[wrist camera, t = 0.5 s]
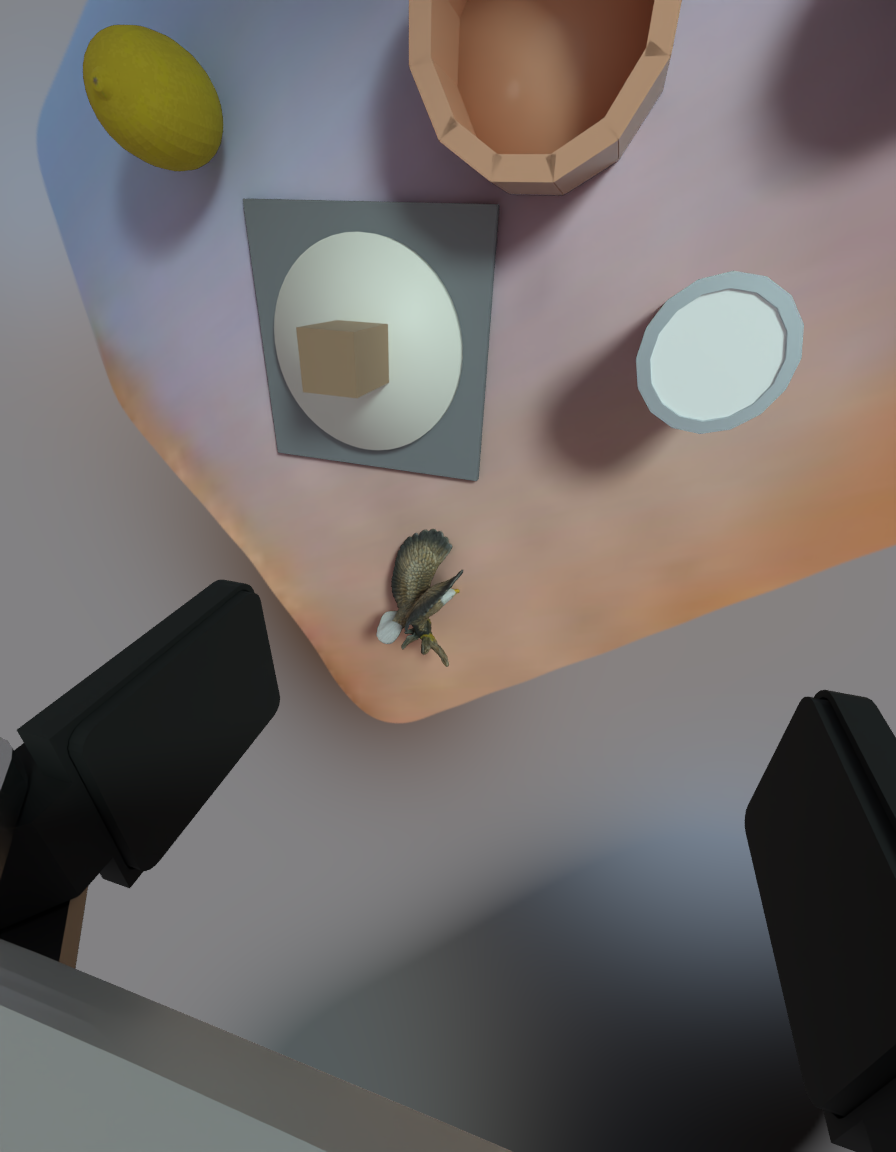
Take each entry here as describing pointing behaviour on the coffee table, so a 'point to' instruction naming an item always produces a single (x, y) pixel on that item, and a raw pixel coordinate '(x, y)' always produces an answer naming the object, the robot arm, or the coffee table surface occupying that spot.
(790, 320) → the shot glass
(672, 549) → the coffee table surface
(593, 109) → the bowl
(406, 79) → the coffee table surface
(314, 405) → the lid
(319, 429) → the mat
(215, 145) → the lemon
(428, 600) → the eagle figurine
